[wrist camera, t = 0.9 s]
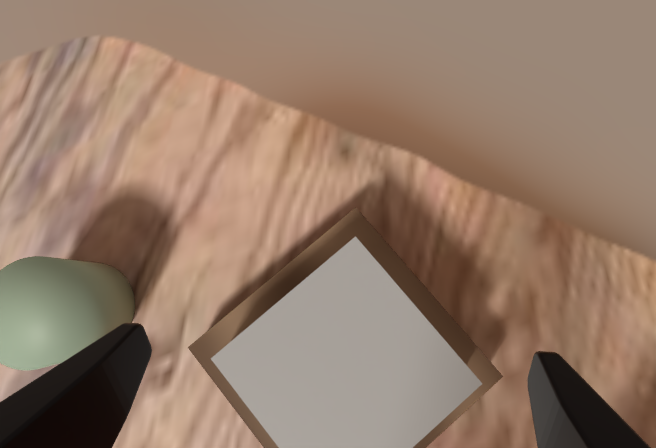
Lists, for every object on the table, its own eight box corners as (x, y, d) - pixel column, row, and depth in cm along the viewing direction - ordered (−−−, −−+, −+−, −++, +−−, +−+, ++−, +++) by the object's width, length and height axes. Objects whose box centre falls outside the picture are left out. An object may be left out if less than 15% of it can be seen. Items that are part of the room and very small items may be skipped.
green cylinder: (79, 373, 25) (16, 394, 20) (28, 302, 26) (-45, 305, 21) (152, 313, 26) (109, 319, 21) (100, 244, 26) (46, 234, 21)
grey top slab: (334, 488, 22) (333, 519, 19) (226, 349, 23) (210, 358, 20) (463, 371, 23) (482, 383, 20) (352, 243, 24) (355, 236, 21)
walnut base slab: (330, 505, 24) (330, 535, 21) (204, 340, 26) (187, 347, 23) (483, 366, 25) (503, 376, 22) (353, 216, 27) (355, 207, 24)
